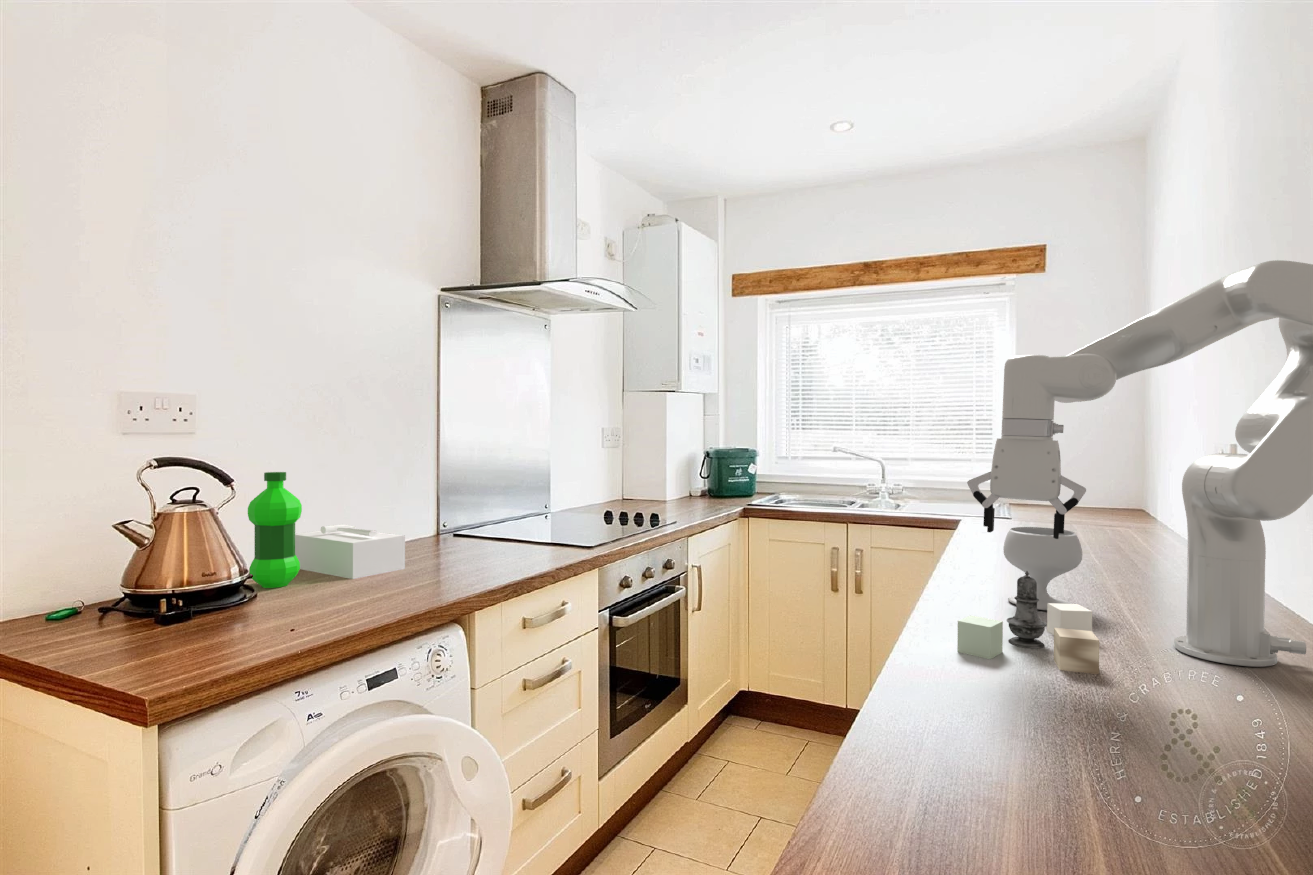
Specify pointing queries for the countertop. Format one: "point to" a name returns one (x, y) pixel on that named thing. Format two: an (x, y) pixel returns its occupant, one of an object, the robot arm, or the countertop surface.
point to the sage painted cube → (980, 637)
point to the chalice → (1042, 557)
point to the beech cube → (1076, 650)
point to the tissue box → (350, 551)
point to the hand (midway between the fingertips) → (1022, 534)
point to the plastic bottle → (274, 533)
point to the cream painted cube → (1068, 617)
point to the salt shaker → (1026, 615)
